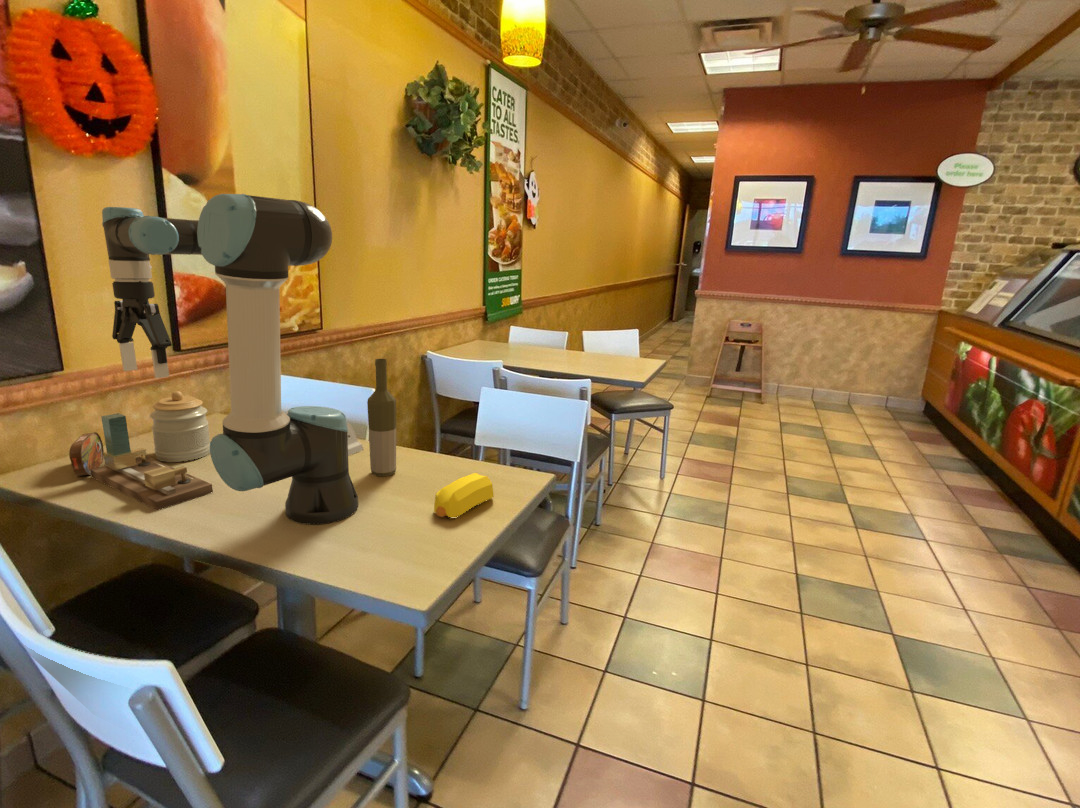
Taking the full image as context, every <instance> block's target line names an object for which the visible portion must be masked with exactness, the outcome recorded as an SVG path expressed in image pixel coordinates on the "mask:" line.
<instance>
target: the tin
mask: <svg viewBox="0 0 1080 808" xmlns="http://www.w3.org/2000/svg"><path fill="white" fill-rule="evenodd" d="M103 452H105V451H104V445H103V440H102V438H101V436H100V434H99V432H98V431H97V432H96V431H94V432H93V431H92V432H89V433H88V432H87V433H83V434H81V435H80V436H79V437H78V438H77V439H76V440H74V442H73V443H72V444H71V445H70V448H69V452H68V453H69V460H70V463H71V468H72V472H73V473H74V475H76V476H77V477H81V476H83V477H84V476H91V470H90V469H94V468H98V467H101V465H102V463H103V462H104V454H103ZM100 464H101V465H100Z"/></svg>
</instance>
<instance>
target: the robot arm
mask: <svg viewBox="0 0 1080 808" xmlns="http://www.w3.org/2000/svg"><path fill="white" fill-rule="evenodd" d="M200 211H201V212H200V215H199V217H198V220H197V219H184V218H183V219H182V218H181V219H180V218H172V217H171V218H170V217H169V218H168V217H160V216H154V215H144V212H143V211H142V210H141V209H140V208H134V207H121V206H106V207H103V209H102V211H101V215H102V222H101V224H102V228H103V232H104V237H105V244H106V245H105V246H106V252H107V257H108V266H109V272H110V278H111V279H112V280H114V281H112V283H111V284H112V290H113V291H112V293H113V296H114V298H115V299H119V300H114V315H113V328H112V334H111V337H112V339H113V340H116V342H117V344H118V345H119V352H120V357H121V366H122V372H128V371H137V370H138V365H137V357H136V350H135V345H134V344H135V343H134V342H135V339H133V335H134V332H135V330H136V326H137V325H138V326H141V329H142V330H143V332H144V334H145V336H146V338H147V339H148V340H149V343H150V345H151V347H150V348H149V350H150V353H151V358H152V359H151V360H152V365H153V366H152V367H153V375H154V379H164V378H168V377H170V371H169V370H170V369H169V364H168V363H169V362H168V358H167V356H168V355H167V349H168V347H169V348H170V347H172V346H173V345H172V341H171V338H170V336H169V333H168V331H167V328H166V326H165V323H164V320H163V318H162V316H161V313H160V307H159V304H158V303H150V301H149V299H154V298H155V287H154V283H153V282H152V281H150V280H151V279H153V275H152V270H153V266H152V265H151V258H150V255H152V256H156V255H157V256H158V255H159V256H161V255H184V256H185V255H186V256H187V255H194V256H195V255H197V256H202V257H203V259H205V261H206V262H207V263H208V264H209V265H212V266H214V272H215V274H214V275H216V276H217V277H218V278H219V279H220V280H221V281H222V282H223V283H224V284H225V285H224V286H225V298H226V299H225V300H226V318H227V319H226V322H227V323H226V324H227V325H226V326H227V345H228V365H229V366H228V367H229V368H228V369H229V372H228V373H229V387H230V388H229V389H230V391H229V392H230V394H229V395H230V412H229V413H227V415H226V416H225V417H224V418H222V433H218V434H216V435H214V436H213V437H212V438H211V441H210V453H209V454H210V458H211V461H212V464H213V467H214V469H215V471H216V472H217V474H218V475H219V477H220V479H221V480H222V481H223V482H224V483H225V484H226V485H227V486H228V487H229V488H231V489H232V490H234V491H237V492H247V491H251V490H254V489H261V488H262V489H263V487H265V486H267V485H271V484H273V483H276V482H280V481H283V480H286V479H289V478H291V481H290V482H291V483H290V486H289V490H288V494H287V498H286V500H285V503H284V504H285V505H284V507H285V516H286V517H287V518H288V519H289V520H290V521H292V522H295V523H298V524H304V525H325V524H330V523H334V521H335V522H339V521H341V519H342V520H344V519H346V517H347V518H349V517H351V516H352V515H353V514H355V513H356V512H357V510H358V509H359V497H358V493H357V491H356V488H355V485H354V483H353V481H352V479H351V476H350V472H349V468H350V467H349V456H348V438H347V432H348V429H347V423H348V422H347V417H346V415H345V413H344V412H343V411H341V410H339V409H335V408H332V407H326V406H314V405H312V406H311V405H306V406H305V405H304V406H303V405H302V406H294V407H291V408H289V409H288V410H287V413H286V412H284V411H283V410H282V378H281V377H282V371H281V369H282V368H281V367H282V366H281V364H282V363H281V362H282V361H281V317H280V316H281V312H280V311H281V308H280V306H281V305H280V288H281V286H282V285H284V283H286V282H287V280H289V266H290V267H292V266H293V267H295V266H296V267H297V266H299V267H300V266H306V265H311V264H314V263H317V262H319V261H320V260H321V259H323V258H324V257H325V256H326V255H327V254H328V252H329V251H330V249H331V247H332V242H333V230H332V227H331V224H330V222H329V220H328V219H327V217H326V215H324V214H323V213H322V212H321V211H320V210H319V209H318V208H317V207H315V206H313V205H311V204H309V203H307V202H305V201H304V202H303V201H301V200H294V199H283V198H276V197H275V198H274V197H265V196H257V195H249V194H245V193H219V194H216V195H213V196H212V197H210V199H208V200H207V201H206V204H205V205H204V206H203V208H202V210H200ZM357 508H358V509H357ZM355 511H356V512H355ZM354 512H355V513H354ZM352 513H353V514H352ZM351 514H352V515H351ZM348 516H349V517H348ZM343 518H344V519H343ZM338 520H339V521H338Z"/></svg>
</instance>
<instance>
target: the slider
mask: <svg viewBox="0 0 1080 808" xmlns="http://www.w3.org/2000/svg"><path fill="white" fill-rule="evenodd" d="M101 423H102V429H103V437H104V442H105V449H106V451H104V452H103V454H104V458H103V462H104V466H108V467H110V468H112V469H114V470H118V469H121V468H125V467H129V466H133V465H136V459H135V458H137V457H141V460H142V463H145V462H146V457H145V456H146V454H147V449H146V448H144V447H142V448H138V449H133V450H131V444H130V438H129V430H128V424H127V417H126V415H125V414H122V413H118V412H117V413H112V414H108V415H107V414H106V415H101Z"/></svg>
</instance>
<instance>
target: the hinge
mask: <svg viewBox="0 0 1080 808" xmlns="http://www.w3.org/2000/svg"><path fill="white" fill-rule="evenodd" d="M347 429H348V432H347V438H348V457H350V456H352V455H351V454H353V455H355V454H357V453H360V452H362V451H364V446H363V444H362V443H361V442H360V441H359V440H358V438H357V435H356V433H355V431H354V428H353V426H352V425H351V424H350V423H348V422H347ZM361 450H362V451H361ZM359 451H360V452H359ZM356 452H357V453H356ZM354 453H355V454H354ZM349 455H350V456H349Z"/></svg>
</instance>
